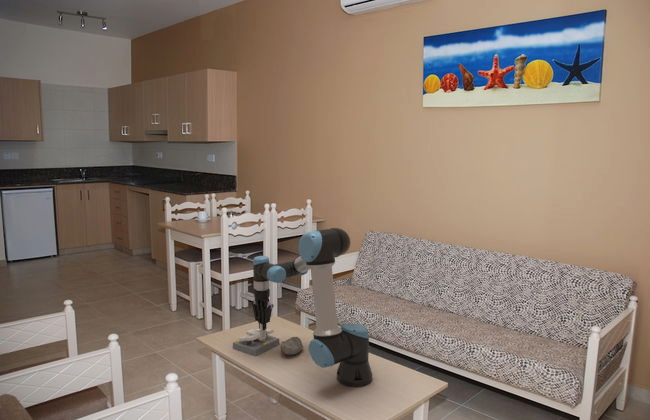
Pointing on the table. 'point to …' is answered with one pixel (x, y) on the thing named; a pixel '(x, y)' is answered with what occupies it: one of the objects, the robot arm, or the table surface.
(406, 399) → the table surface
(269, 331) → the rocker
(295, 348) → the seashell
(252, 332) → the rocker
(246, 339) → the plate
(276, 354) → the table surface
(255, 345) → the switch unit
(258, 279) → the robot arm
